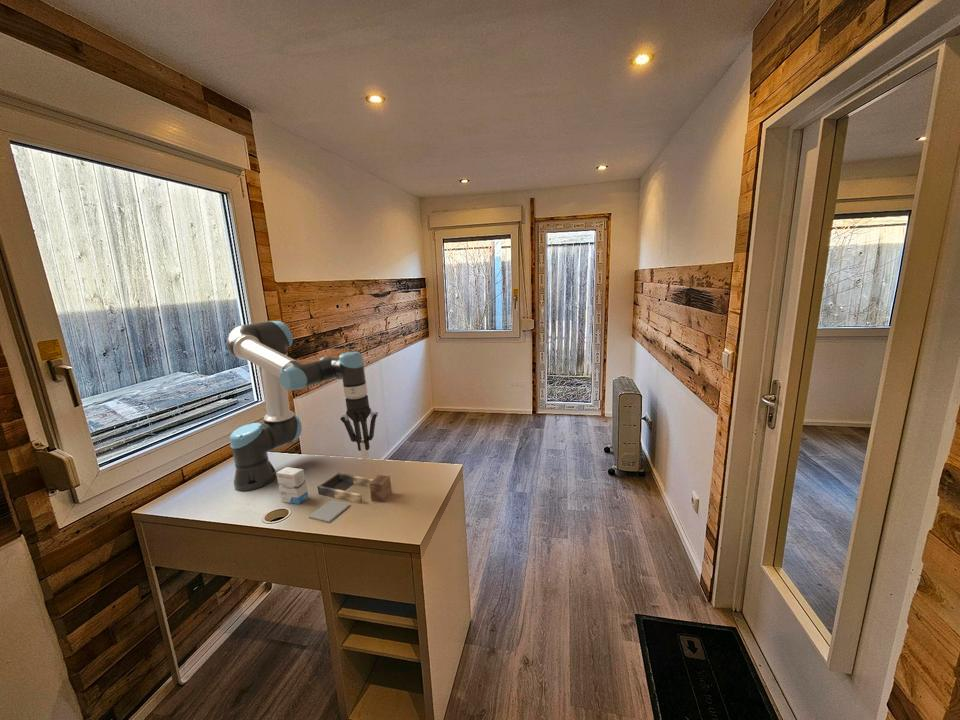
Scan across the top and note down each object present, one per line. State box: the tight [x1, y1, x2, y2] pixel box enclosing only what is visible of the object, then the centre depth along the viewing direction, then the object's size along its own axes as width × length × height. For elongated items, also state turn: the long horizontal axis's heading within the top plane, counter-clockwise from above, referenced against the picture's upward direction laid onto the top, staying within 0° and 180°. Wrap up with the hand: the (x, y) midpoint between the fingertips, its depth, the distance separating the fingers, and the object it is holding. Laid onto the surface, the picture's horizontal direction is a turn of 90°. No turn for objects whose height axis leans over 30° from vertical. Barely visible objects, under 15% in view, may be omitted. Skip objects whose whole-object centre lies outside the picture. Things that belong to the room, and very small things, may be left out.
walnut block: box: [369, 474, 392, 503], centre depth 137 cm, size 5×6×7 cm
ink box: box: [276, 466, 309, 505], centre depth 139 cm, size 8×5×12 cm, turn 71°
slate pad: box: [308, 499, 351, 524], centre depth 131 cm, size 9×10×1 cm
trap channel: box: [317, 472, 374, 504], centre depth 143 cm, size 20×11×3 cm, turn 67°
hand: (365, 458), depth 136 cm, fingers closed
